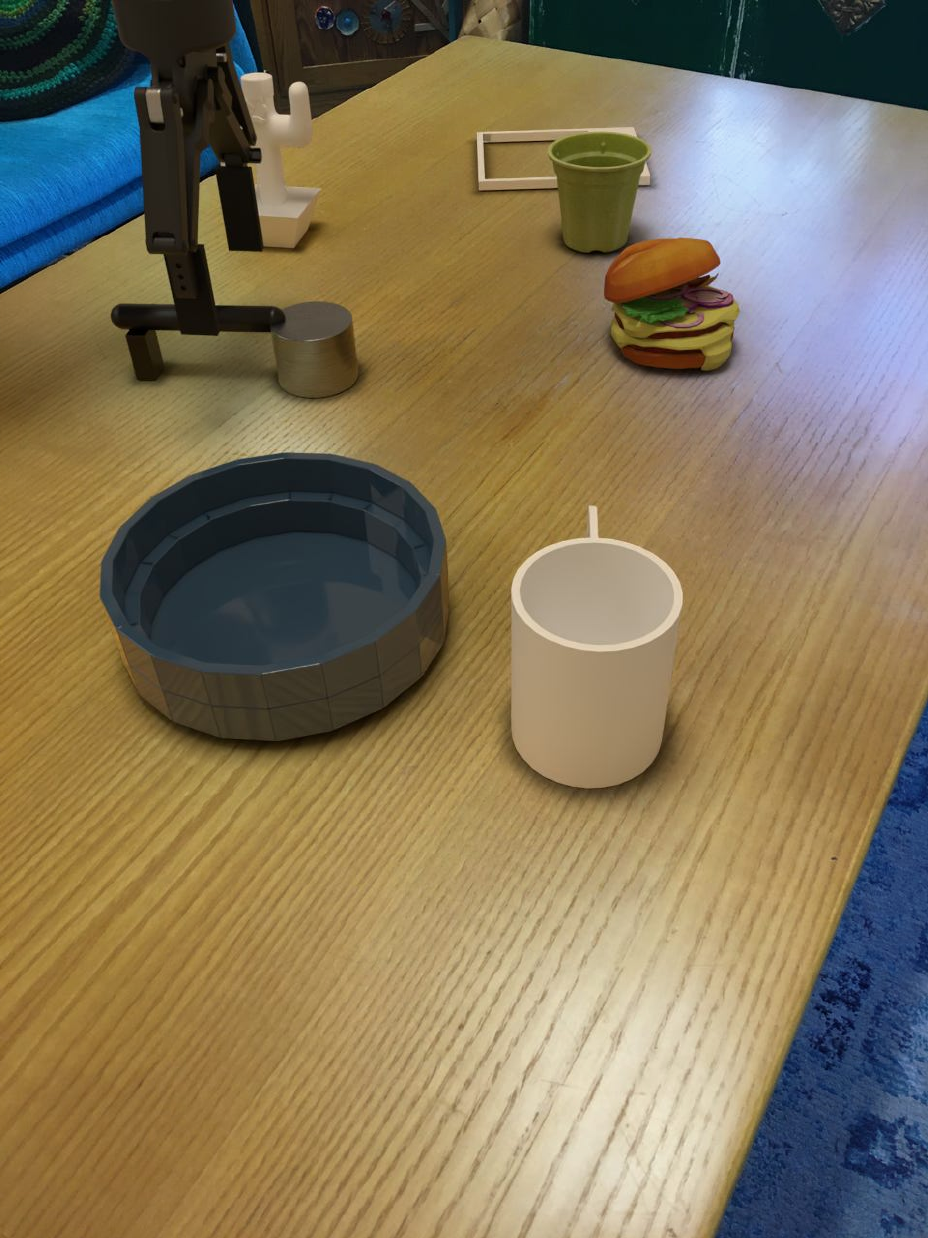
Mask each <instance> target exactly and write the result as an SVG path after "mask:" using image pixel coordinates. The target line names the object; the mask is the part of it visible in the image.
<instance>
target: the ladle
mask: <svg viewBox="0 0 928 1238" xmlns="http://www.w3.org/2000/svg"><path fill="white" fill-rule="evenodd" d="M215 305H216V311H217V316H218V321H219V326H220V332H219V333H260V334H261V333H264V334H266V333H267V334H270V337H271V342H272V348H273V353H274V360H275V366H276V371H277V372H276V373H277V378H278V383H279V385H280V387H281V388H282V389H283V390H284V391H285V392H286V393H288V394H290V395H293V396H295V397H300V398H307V399H318V398H328V397H331V396H335V395H338V394H340V393H343V392H345V391H347V390H348V389H350V388H351V387H353V386H354V384H355V383H356V382H357V380H358V378H359V366H358V359H357V358H358V355H357V350H356V349H357V347H356V339H355V332H354V331H355V330H354V321H353V315H352V313H351V311H350V310H349V309H348V308H346V307H345V306H343V305H341V304H339V303H335V302H331V301H322V300H321V301H320V300H317V301H316V300H315V301H305V302H304V301H303V302H299V303H294V304H291V305H289V306H286V307H284V308H282V309H281V308H280V307H278V306H275V305H240V304H239V305H237V304H236V305H234V304H232V305H231V304H215ZM110 321H111V322H112V324H113V326H115V327H116V328H117V329H119V330H124V331H127V332H126V333H125V335H124V338H125V341H126V345H127V348H128V352H129V355H130V359H131V362H132V367H133V370H134V374H135V378H136V380H137V381H155V382H156V381H157V380H158V378H159V376H160V374H161V372H162V371H163V369H164V367H165V361H164V358H163V355H162V351H161V346H160V343H159V339H158V335H157V331H167V332H168V331H169V332H173V331H174V332H180V328H179V323H178V319H177V314H176V310H175V305H174V303H129V302H128V303H125V302H124V303H123V302H121V303H117V304H116V305H114V306H113V307H112V309H111V311H110Z"/></svg>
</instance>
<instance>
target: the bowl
mask: <svg viewBox="0 0 928 1238" xmlns="http://www.w3.org/2000/svg"><path fill="white" fill-rule="evenodd" d="M449 584H450V583H449V565H448V548H447V537H446V535H445V533H444V528H443V526H442V523H441V520H440V516H439V514H438V510H437V509H436V507H435V506H434V505H433V504H432V503H431V502H430V501H429V500H428V499H427V497H425V496H424V495H423V494H422V492H421V491H420V490H419V489H418V488H417V487H416V486H415V485H414V484H413V483H412V482H410V481H409V480H407V479H405V478H403V477H402V476H400V475H397V474H396V473H394V472H393V471H390V470H388V469H386V468H384V467H383V466H380V465H378V464H377V463H376V464H375V463H373V462H368V461H365V460H360V459H357V458H356V459H355V458H352V457H347V456H343V455H339V454H334V453H322V452H321V453H320V452H294V451H293V452H291V451H289V452H288V451H286V452H278V453H271V454H263V455H257V456H250V457H244V458H243V457H242V458H238V459H234V460H231V461H228V462H225V463H222V464H219V465H216V466H213V467H210V468H207V469H204V470H202V471H198V472H195V473H192V474H189V475H187V476H186V477H184V478H182V479H181V480H179V481H177V482H175V483H174V484H171V485H170V486H168V487H167V488H165V489H163V490H162V491H160V492H158V493H156V494H154V495H153V496H151V497H149V498H148V500H147V501H145V502H144V503H143V504H142V505H141V506H140V507H139V508H138V509H137V510H136V511H135V512H134V513H133V514H132V515H130V517H128V518H127V519H126V521H124V522H123V523H122V524H121V525H120V526H119V527H118V529H117V531H116V532H115V535H114V536H113V538H112V540H111V542H110V544H109V546H108V547H107V550H106V552H105V554H104V555H103V557H102V559H101V561H100V578H99V599H100V602H101V605H102V608H103V611H104V614H105V616H106V619H107V622H108V624H109V627H110V630H111V633H112V635H113V638H114V641H115V645H116V646H117V650H118V652H119V655H120V658H121V661H122V663H123V665H124V667H125V670H126V671H127V673H128V675H129V677H130V679H131V681H132V684H133V686H134V687H135V689H136V691H137V693H138V695H139V697H141V698H142V699H144V700H145V701H146V702H147V703H149V704H150V705H151V706H152V707H153V708H155V710H157V711H159V712H160V713H161V714H163V715H164V716H165V717H166V718H168V719H169V720H170V721H171V722H173V723H175V724H178V725H181V726H185V727H187V728H190V729H193V730H196V731H198V732H202V733H204V734H206V735H207V734H208V735H211V736H213V737H216V738H220V739H231V740H232V739H236V740H251V741H252V740H253V741H255V740H256V741H270V742H272V741H273V742H280V741H286V740H291V739H297V738H303V737H307V736H312V735H319V734H324V733H328V732H333V731H335V730H338V729H340V728H342V727H344V726H346V725H350V724H351V723H353V722H356V721H357V720H360V719H363V718H365V717H367V716H369V715H371V714H374V713H376V712H378V711H380V710H383V708H386V707H387V706H388V705H389V704H390V703H392V702H393V701H394V700H395V699H397V698H398V697H399V696H400V695H402V694H403V693H404V692H406V690H407V689H409V688H410V687H412V686H413V685H414V684H415V683H417V682H418V680H420V679H421V678H422V677H423V676H424V674H425V673H426V671H427V670H428V668H429V667H430V665H431V663H432V662H433V660H434V659H435V657H436V656H437V653H439V651H440V649H441V648H442V646H443V645H444V642H445V639H446V632H447V628H448V627H447V626H448V620H449V615H450V607H451V606H450V605H451V603H450V587H449Z"/></svg>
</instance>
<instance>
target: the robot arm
mask: <svg viewBox="0 0 928 1238" xmlns="http://www.w3.org/2000/svg"><path fill="white" fill-rule="evenodd" d="M110 1H111V5H112V9H113V14H114V19H115V23H116V27H117V33H118V37H119V39H120V42H121V43H122V44H123V46H124V47H125V48H127V49H129V50H130V51H132V52H135V53H140V54H142V55H144V57H146V58H147V59H148V60H149V62H150V75H151V78H150V82H149V86H135V87H134V90H133V100H134V104H135V110H136V111H135V112H136V116H137V117H136V118H137V122H138V129H139V141H140V142H139V145H140V146H139V147H140V161H141V162H140V163H141V179H142V193H143V194H142V197H143V198H142V199H143V214H144V215H143V217H144V233H145V234H144V235H145V239H144V241H145V247H146V251H147V253H148V254H149V255H163V259H164V263H165V269H166V272H167V273H166V274H167V278H168V282H169V286H170V291H171V295H172V300H173V304H174V305H175V310H176V314H177V319H178V323H179V328H180V331H179V332H180V335H181V336H182V335H183V336H205V337H206V336H207V337H218V336H219V334H220V333H221V332H220V326H219V321H218V316H217V311H216V305H217V304H216V302H215V301H216V300H215V295H214V290H213V284H212V280H211V275H210V270H209V264H208V258H207V253H206V248H205V244H204V243H199V217H200V214H199V213H200V190H201V189H200V188H201V187H200V186H201V161H202V160H201V156H202V152H203V151H204V150H206V149H207V148H208V146H209V147H210V149H211V151H212V152H213V154H214V156H215V157H216V159H217V161H218V162H219V163H220V164H221V163H225V166H221V165H217V166H216V167H215V169H214V173H215V178H216V184H217V189H218V190H217V191H218V195H219V201H220V207H221V212H222V213H221V214H222V219H223V224H224V229H225V236H226V241H227V248H228V251H229V252H253V253H254V252H256V253H257V252H258V253H262V252H263V250H264V248H265V246H263V239H262V232H261V226H260V219H259V212H258V206H257V199H256V192H255V186H254V184H255V181H254V173H253V166H248V164H253V165H255V164H260V163H261V160H262V153H261V149H260V148H251V146H255V145H256V141H257V135H256V133H255V129H254V126H253V123H252V120H251V116H250V113H249V110H248V107H247V104H246V101H245V97H244V94H243V91H242V86H241V80H240V79H239V78H240V77H239V75H238V72H237V68H236V66H235V62H234V60H233V59H234V58H233V54H232V49H231V48H232V47H231V43H230V42H231V41H232V40H234V38H235V35H236V33H237V21H236V16H235V15H236V14H235V7H234V0H110ZM240 126H241V127H242V129H241V127H240Z"/></svg>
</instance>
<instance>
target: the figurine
mask: <svg viewBox="0 0 928 1238" xmlns="http://www.w3.org/2000/svg"><path fill="white" fill-rule="evenodd" d="M273 81H274V80H273V75H272V74H270V73H268V72H250V73H245V74H242V75H241V76H240V85H241V88H242V91H243V94H244V97H245V101H246V104H247V107H248V110H249V113H250V116H251V120H252V123H253V126H254V129H255V133H256V135H257V141H256V145H255V146H250V147H251V148H260V149H261V153H262V160H261V163H260V164H254V168H255V175H256V181H257V183H256V184H255V183H254V186H255V192H256V199H257V206H258V212H259V219H260V226H261V232H262V239H263V246H264V247H268V248H269V247H270V248H282V249H283V248H285V249H294V248H295V247H296V246H297V245H298V243H299V242H300V240H301V239H302V238H303V236H305V234H306V233H307V231H308V230H309V227H310V224H311V222H312V218H313V215H314V213H315V210H316V206H317V203H318V201H319V197H320V194H321V191H322V187H309V186H308V187H307V186H293V185H292V186H291V185H287V184H286V178H285V171H284V164H283V156H282V150H281V148H288V149H289V148H290V149H293V148H294V149H304V148H307V147H308V146H309V145H310V144H311V142H312V140H313V119H312V112H311V103H310V95H309V89H308V86H307V84H306V83H304V82H303V81H296V82H295V81H294V82H293V83H291V85H290V86H289V88H288V99H289V100H288V101H289V108H290V111H289V112H290V114H280V113H278V112H277V111H276V108H275V102H274V101H275V100H274V96H275V92H274V91H275V90H274V83H273ZM240 127H241V126H240ZM241 129H242V127H241ZM220 166H225V163H220Z"/></svg>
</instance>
